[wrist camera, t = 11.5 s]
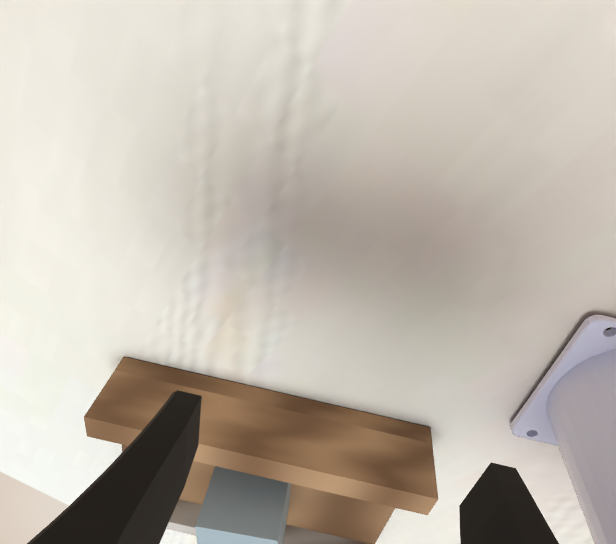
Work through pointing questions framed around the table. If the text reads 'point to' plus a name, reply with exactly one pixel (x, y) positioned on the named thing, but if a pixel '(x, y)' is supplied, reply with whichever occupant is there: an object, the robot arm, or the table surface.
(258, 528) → the gray box
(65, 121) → the table surface
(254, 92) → the table surface
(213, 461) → the wooden shelf
